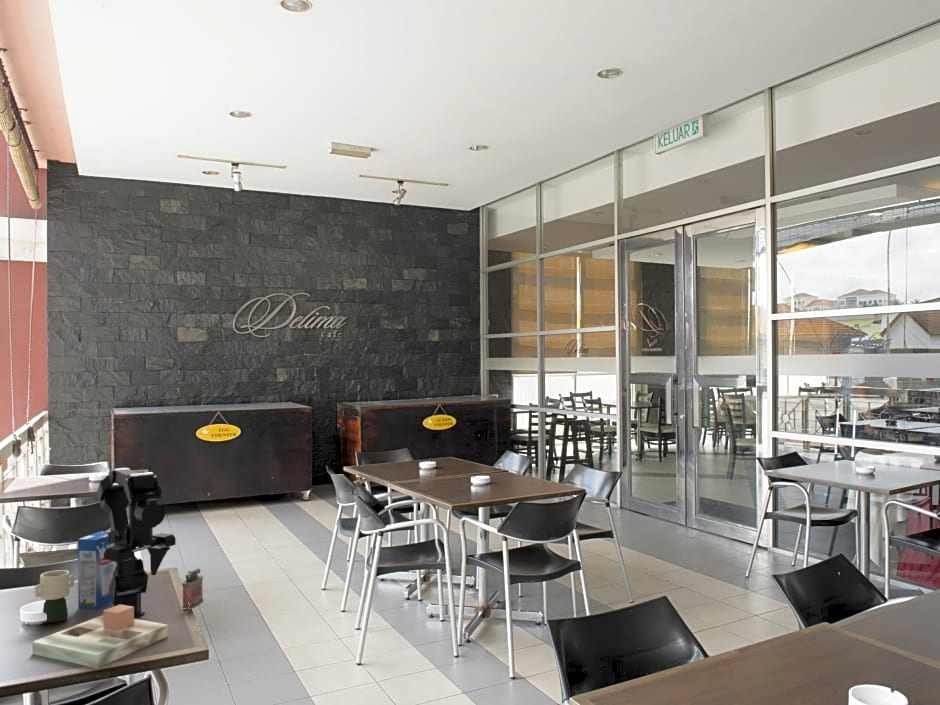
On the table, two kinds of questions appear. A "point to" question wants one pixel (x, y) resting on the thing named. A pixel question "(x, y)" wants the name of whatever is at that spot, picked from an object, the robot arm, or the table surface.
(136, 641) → the cream flat piece
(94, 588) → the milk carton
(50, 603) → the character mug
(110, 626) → the block
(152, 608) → the table surface
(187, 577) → the lighter
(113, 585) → the robot arm
